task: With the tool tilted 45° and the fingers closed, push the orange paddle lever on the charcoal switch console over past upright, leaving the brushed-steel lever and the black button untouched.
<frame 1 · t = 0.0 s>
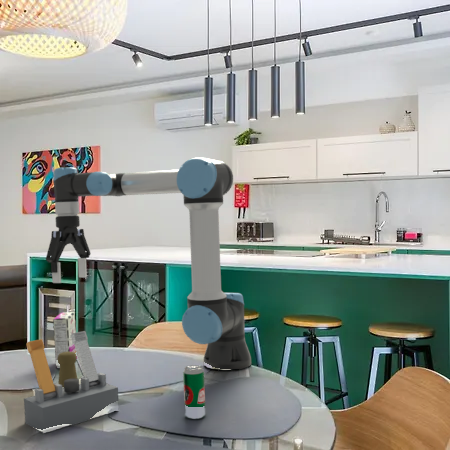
hand: (70, 280, 193), 28 cm above the table, tool pointing down, fingers open, 13 cm apart
console: (73, 416, 145), on the table
soda can: (195, 417, 142), on the table
orange lever: (41, 369, 143), point 13 cm above the table, hinge at -30.0°
candy bar box: (66, 364, 195), on the table
button: (71, 385, 145), point 8 cm above the table, slide at 0.0 cm
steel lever: (85, 359, 151), point 13 cm above the table, hinge at -30.0°
cork: (68, 391, 166), on the table
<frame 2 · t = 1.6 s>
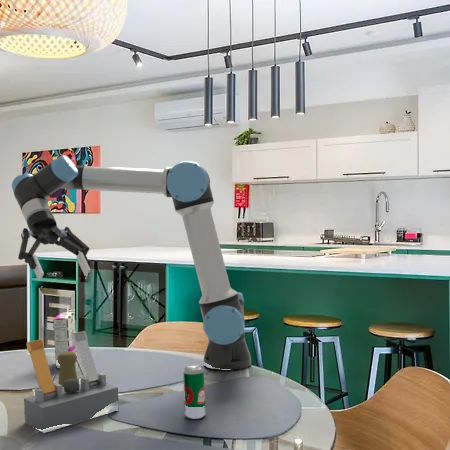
hand: (65, 274, 159), 33 cm above the table, tool tilted 45°, fingers open, 13 cm apart
nothing on the table moved.
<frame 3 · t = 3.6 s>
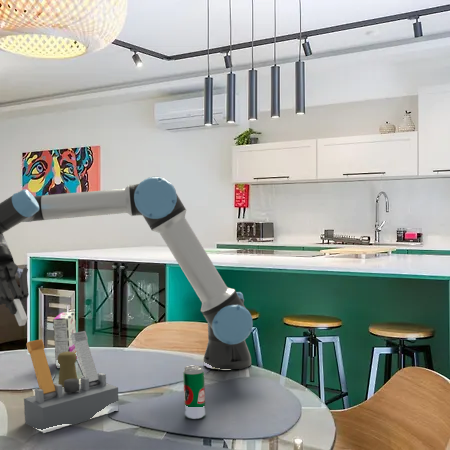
hand: (23, 322, 149), 23 cm above the table, tool tilted 45°, fingers closed
nothing on the table moved.
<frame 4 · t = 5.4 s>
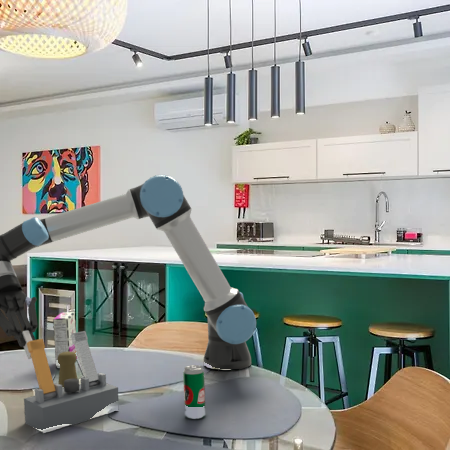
hand: (32, 355, 145), 15 cm above the table, tool tilted 45°, fingers closed
orange lever: (42, 368, 143), point 13 cm above the table, hinge at -28.4°, touching gripper
everything else where it was.
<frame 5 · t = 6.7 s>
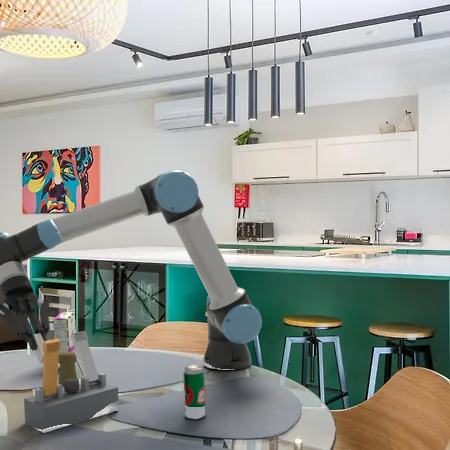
hand: (44, 359, 140), 16 cm above the table, tool tilted 45°, fingers closed
orange lever: (50, 369, 139), point 13 cm above the table, hinge at 12.0°, touching gripper
everything else where it was.
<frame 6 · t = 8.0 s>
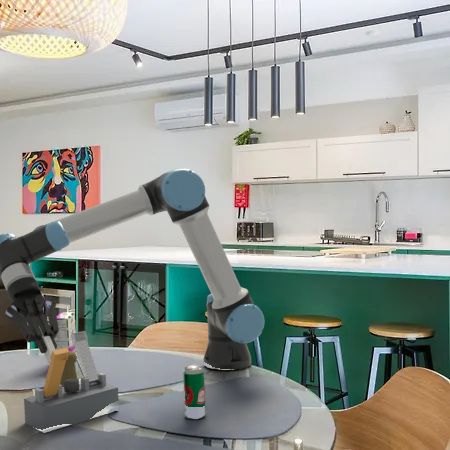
hand: (54, 362, 137), 15 cm above the table, tool tilted 45°, fingers closed
orange lever: (54, 374, 138), point 12 cm above the table, hinge at 31.2°, touching gripper
everything else where it was.
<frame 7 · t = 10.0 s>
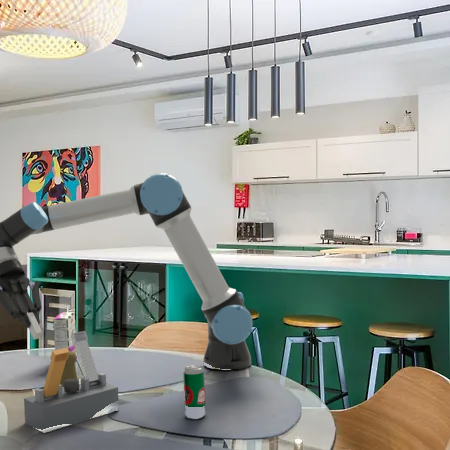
hand: (37, 335, 149), 19 cm above the table, tool tilted 45°, fingers closed
orange lever: (54, 374, 138), point 12 cm above the table, hinge at 31.3°
everything else where it was.
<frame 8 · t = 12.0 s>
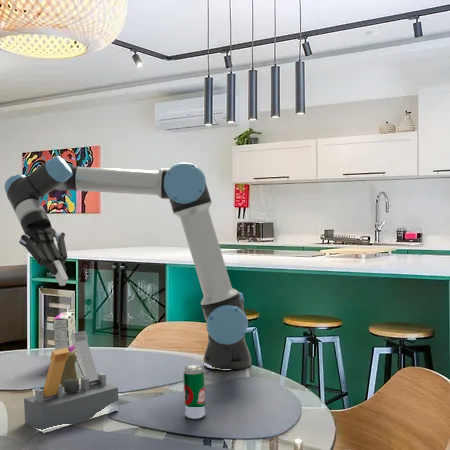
hand: (64, 282, 154), 32 cm above the table, tool tilted 45°, fingers closed
nothing on the table moved.
at the end: orange lever at +31° (first picture: -30°); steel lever at -30° (first picture: -30°); button slide at 0.0 cm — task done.
